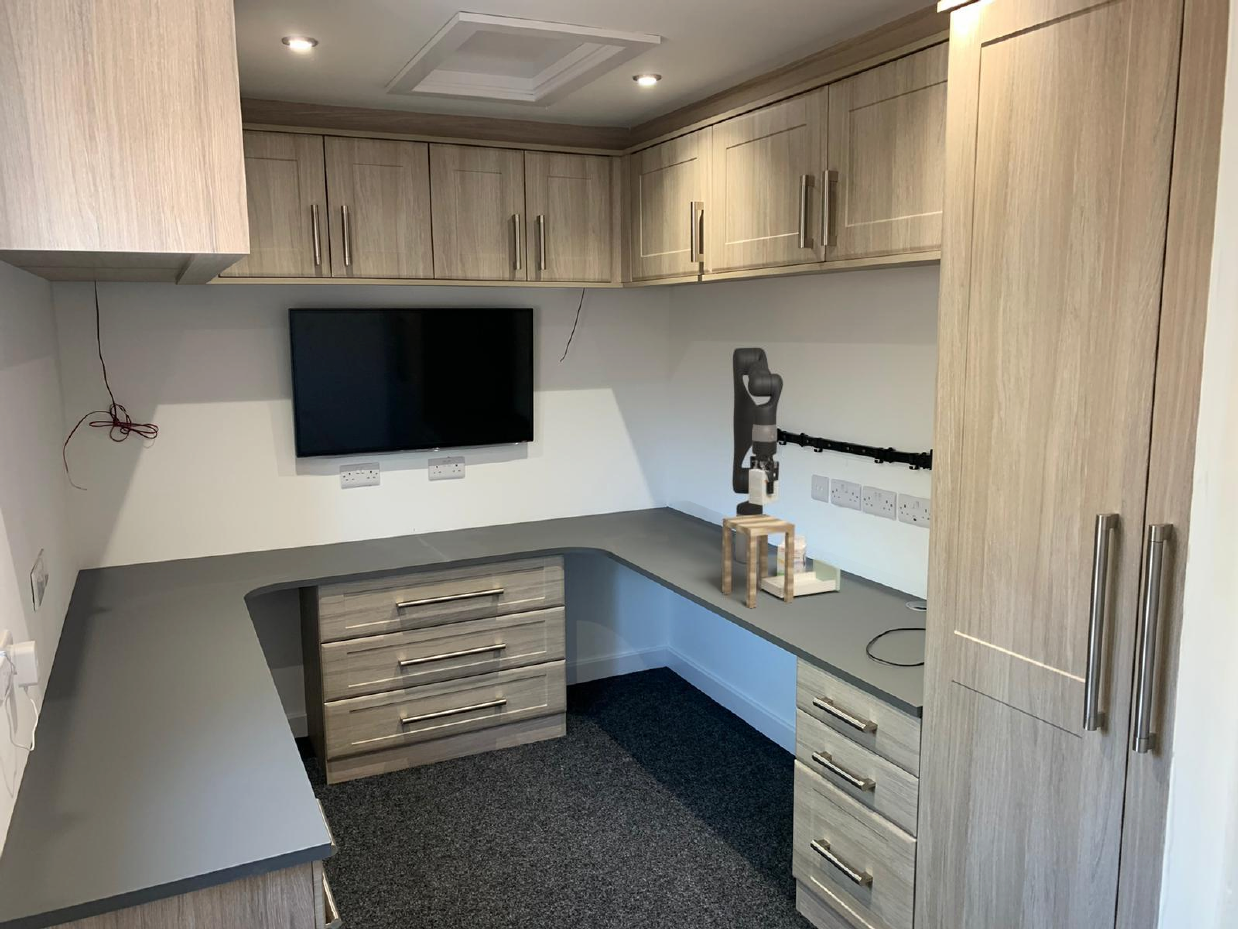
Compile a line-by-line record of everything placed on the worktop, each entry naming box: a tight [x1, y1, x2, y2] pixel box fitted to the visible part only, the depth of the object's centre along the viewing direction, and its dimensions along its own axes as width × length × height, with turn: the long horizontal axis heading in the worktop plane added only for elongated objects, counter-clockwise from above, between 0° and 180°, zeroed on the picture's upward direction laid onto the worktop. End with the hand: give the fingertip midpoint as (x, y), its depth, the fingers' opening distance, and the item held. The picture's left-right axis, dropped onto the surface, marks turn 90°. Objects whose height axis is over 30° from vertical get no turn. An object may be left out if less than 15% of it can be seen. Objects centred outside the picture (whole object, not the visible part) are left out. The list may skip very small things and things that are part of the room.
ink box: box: [776, 533, 807, 576], centre depth 304 cm, size 9×5×15 cm, turn 62°
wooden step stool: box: [721, 513, 796, 609], centre depth 284 cm, size 17×15×24 cm
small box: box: [748, 469, 779, 506], centre depth 288 cm, size 8×6×10 cm
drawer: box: [761, 557, 841, 599], centre depth 291 cm, size 13×21×7 cm, turn 113°
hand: (763, 491), depth 289 cm, fingers closed on small box, 7 cm apart
